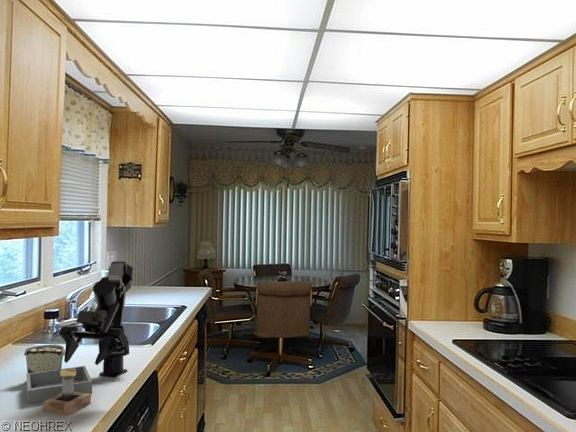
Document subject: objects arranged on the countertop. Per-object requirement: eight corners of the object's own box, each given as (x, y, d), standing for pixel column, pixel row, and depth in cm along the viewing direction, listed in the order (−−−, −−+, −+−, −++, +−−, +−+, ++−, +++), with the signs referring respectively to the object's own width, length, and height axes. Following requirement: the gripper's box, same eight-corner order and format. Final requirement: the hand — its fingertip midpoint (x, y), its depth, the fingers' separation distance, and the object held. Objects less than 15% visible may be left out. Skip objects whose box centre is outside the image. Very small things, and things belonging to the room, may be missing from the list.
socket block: (65, 405, 129) (65, 390, 129) (90, 408, 127) (90, 393, 127) (43, 417, 122) (43, 401, 122) (69, 420, 120) (69, 405, 120)
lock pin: (66, 403, 127) (67, 367, 127) (78, 405, 126) (79, 369, 126) (56, 409, 123) (56, 372, 123) (68, 410, 122) (69, 373, 122)
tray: (26, 390, 140) (26, 373, 140) (84, 381, 148) (85, 365, 148) (27, 409, 126) (27, 390, 126) (91, 399, 134) (92, 381, 134)
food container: (71, 374, 154) (72, 344, 155) (63, 381, 148) (63, 349, 148) (33, 374, 154) (33, 344, 154) (23, 381, 148) (23, 349, 148)
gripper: (63, 297, 137) (36, 345, 126) (123, 300, 134) (100, 349, 122) (79, 319, 144) (54, 366, 133) (136, 322, 141) (116, 370, 130)
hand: (80, 363), depth 130 cm, fingers open, 9 cm apart
